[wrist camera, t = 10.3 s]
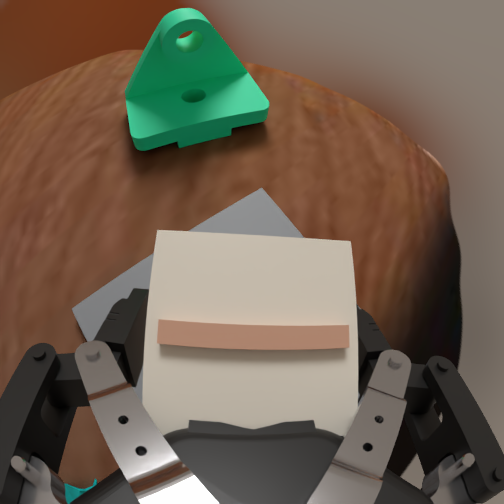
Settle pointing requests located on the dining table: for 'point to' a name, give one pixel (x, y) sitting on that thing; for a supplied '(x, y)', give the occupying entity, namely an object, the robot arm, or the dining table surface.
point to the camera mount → (189, 86)
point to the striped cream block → (250, 331)
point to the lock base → (227, 221)
